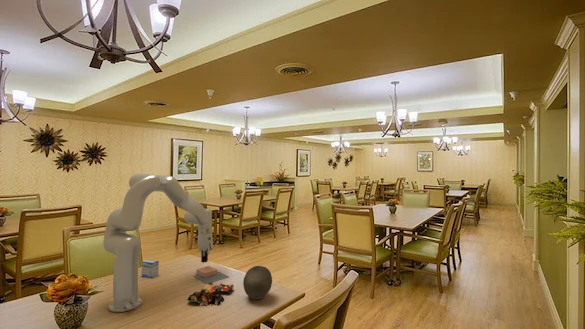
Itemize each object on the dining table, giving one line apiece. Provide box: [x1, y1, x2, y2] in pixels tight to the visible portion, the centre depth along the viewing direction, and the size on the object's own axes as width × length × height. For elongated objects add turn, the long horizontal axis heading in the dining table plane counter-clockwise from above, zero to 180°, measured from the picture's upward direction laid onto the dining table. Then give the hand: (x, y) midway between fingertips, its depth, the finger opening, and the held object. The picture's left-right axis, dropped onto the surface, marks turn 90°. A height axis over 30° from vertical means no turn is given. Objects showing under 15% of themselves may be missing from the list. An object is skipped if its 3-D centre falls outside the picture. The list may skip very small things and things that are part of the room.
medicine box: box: [141, 259, 160, 279], centre depth 164 cm, size 8×4×9 cm, turn 73°
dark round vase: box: [242, 265, 273, 300], centre depth 139 cm, size 14×14×15 cm
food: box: [186, 282, 234, 307], centre depth 141 cm, size 22×19×4 cm
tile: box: [196, 265, 218, 278], centre depth 168 cm, size 3×8×9 cm
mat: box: [193, 270, 230, 285], centre depth 165 cm, size 15×14×1 cm
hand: (204, 261), depth 170 cm, fingers closed
